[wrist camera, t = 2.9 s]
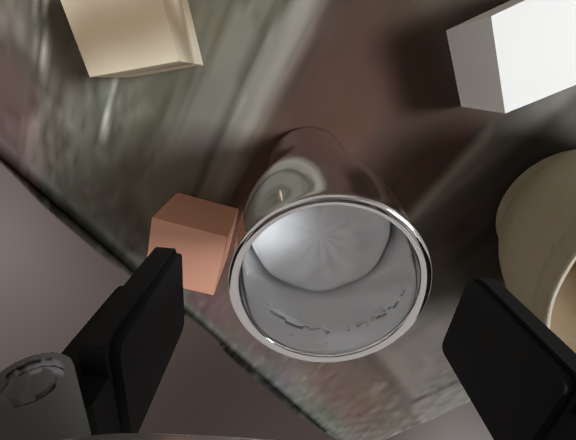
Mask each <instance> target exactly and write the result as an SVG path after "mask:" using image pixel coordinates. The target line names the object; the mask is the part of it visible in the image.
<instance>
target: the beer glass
mask: <svg viewBox="0 0 576 440" xmlns="http://www.w3.org/2000/svg"><path fill="white" fill-rule="evenodd" d="M431 285H432V264H431V259H430V255H429V252H428V249H427V246H426V244H425V242H424V240H423V239H422V237H421V235H420V234H419V232H418V231H417V230H416V228H415V227H414V226H413V225H412V223H411V222H410V220H409V218H408V216H407V215H406V213H405V211H404V210H403V208H402V206H401V205H400V203H399V202H398V200H397V198H396V197H395V196H394V194H393V193H392V192H391V190H390V189H389V188H388V186H387V185H386V184H385V183H384V181H383V180H382V179H381V178H380V177H379V176H378V175H377V174H376V173H375V172H374V171H373V170H372V169H371V168H369V167H368V166H367V165H366V164H365V163H363V162H362V161H361V160H359V159H357V158H356V157H354V156H352V155H350V154H348V153H346V152H345V150H344V148H343V146H342V145H341V143H340V142H339V141H338V140H337V139H336V138H335V137H334V136H333V135H332V134H330V133H328V132H326V131H324V130H321V129H318V128H300V129H296V130H294V131H291V132H289V133H288V134H286V135H285V136H283V137H282V138H281V139H280V140H279V141H278V142H277V143H276V145H275V146H274V148H273V149H272V151H271V154H270V157H269V161H268V168H267V169H266V170H265V171H264V172H263V174H262V175H261V176H260V177H259V179H258V180H257V181H256V183H255V185H254V186H253V188H252V190H251V192H250V194H249V197H248V199H247V201H246V203H245V206H244V209H243V212H242V216H241V219H240V223H239V227H238V231H237V237H236V242H235V248H234V255H233V258H232V261H231V264H230V269H229V276H228V287H229V295H230V299H231V303H232V306H233V308H234V311H235V313H236V315H237V317H238V318H239V320H240V321H241V323H242V324H243V326H244V327H245V328H246V329H247V330H248V331H249V332H250V333H251V334H252V335H253V336H254V337H255V338H256V339H257V340H258V341H260V342H261V343H262V344H264V345H265V346H267V347H269V348H270V349H272V350H274V351H276V352H278V353H281V354H283V355H286V356H289V357H292V358H295V359H300V360H305V361H311V362H340V361H347V360H352V359H356V358H360V357H363V356H366V355H369V354H372V353H374V352H376V351H378V350H380V349H382V348H384V347H386V346H388V345H389V344H391V343H392V342H394V341H395V340H397V339H398V338H399V337H401V336H402V335H403V334H404V333H405V332H406V331H407V330H408V329H409V328H410V327H411V326H412V325H413V324H414V322H415V321H416V320H417V318H418V317H419V316H420V314H421V312H422V311H423V309H424V307H425V305H426V302H427V300H428V297H429V294H430V290H431Z"/></svg>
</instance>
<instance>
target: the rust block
mask: <svg viewBox="0 0 576 440" xmlns="http://www.w3.org/2000/svg"><path fill="white" fill-rule="evenodd" d="M238 211H239V209H237V208H233V207H230V206H226V205H222V204H219V203H215V202H211V201H208V200H204V199H200V198H197V197H193V196H189V195H186V194H182V193H178V192H177V193H176V194H175V195H174V196H173V197H172V198H171V199H170V200H169V201H168V202H167V203H166V204H165V205H164V206H163V207H162V208H161V209H160V210H159V211H158V212H157V213H156V214H155V215H154V216H153V217H152V221H151V229H150V238H149V246H148V254H147V257H148V255H149V254H150V253H151V252H152V251H153V249H154V248H155V247H165V248H175V249H176V252H177V253H180V254H181V255H182V269H183V288H186V289H190V290H194V291H198V292H203V293H207V294H211V295H214V292H215V289H216V287H217V284H218V281H219V279H220V276H221V273H222V270H223V268H224V265H225V262H226V259H227V255H228V251H229V247H230V243H231V239H232V235H233V231H234V227H235V223H236V219H237V215H238Z"/></svg>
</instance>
